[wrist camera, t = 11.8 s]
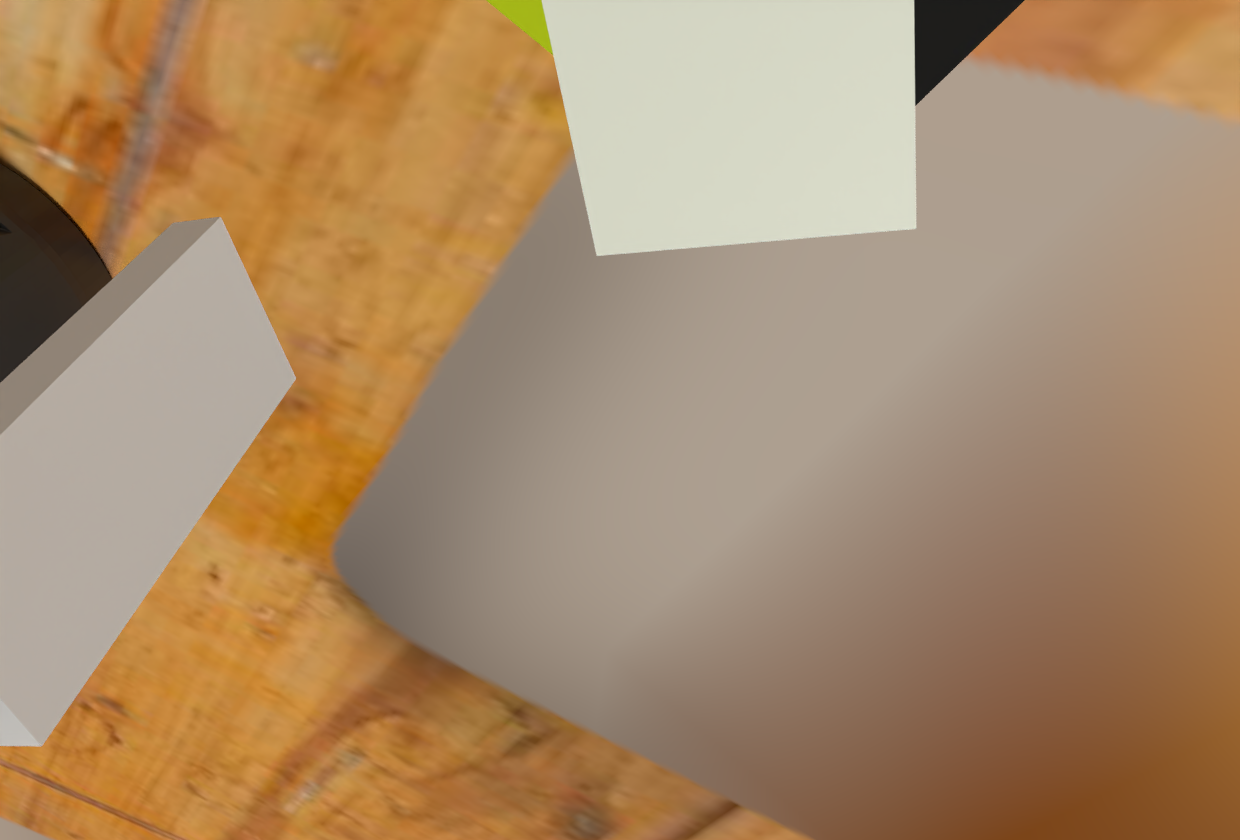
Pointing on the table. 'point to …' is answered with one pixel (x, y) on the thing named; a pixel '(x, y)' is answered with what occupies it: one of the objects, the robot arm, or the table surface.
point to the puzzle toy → (943, 30)
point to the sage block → (738, 118)
